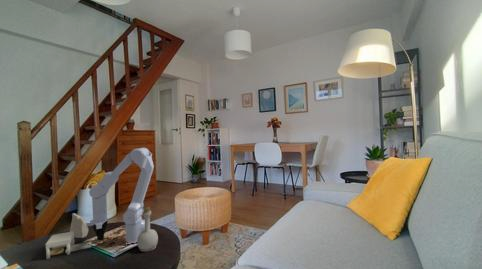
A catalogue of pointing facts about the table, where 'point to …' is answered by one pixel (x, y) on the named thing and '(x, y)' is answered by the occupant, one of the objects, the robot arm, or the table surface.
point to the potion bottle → (147, 234)
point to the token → (56, 251)
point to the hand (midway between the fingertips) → (100, 238)
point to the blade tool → (80, 246)
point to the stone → (78, 226)
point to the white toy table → (60, 242)
